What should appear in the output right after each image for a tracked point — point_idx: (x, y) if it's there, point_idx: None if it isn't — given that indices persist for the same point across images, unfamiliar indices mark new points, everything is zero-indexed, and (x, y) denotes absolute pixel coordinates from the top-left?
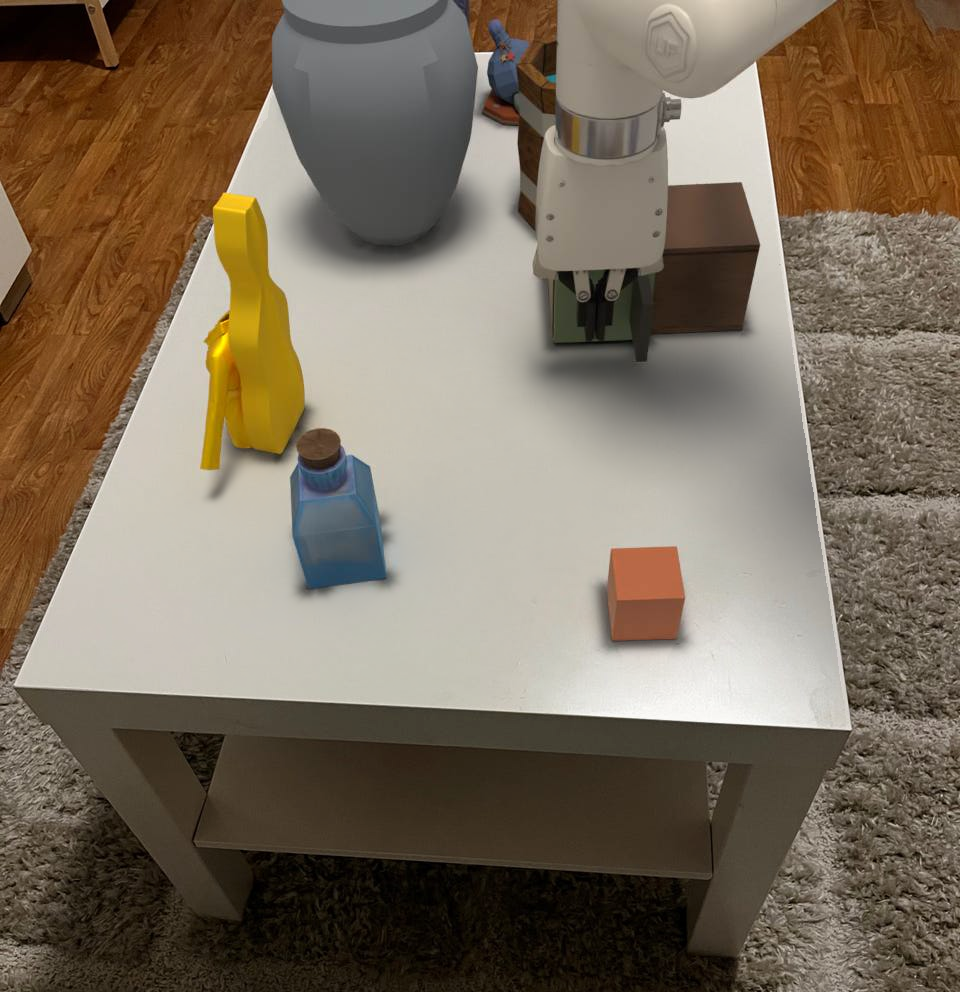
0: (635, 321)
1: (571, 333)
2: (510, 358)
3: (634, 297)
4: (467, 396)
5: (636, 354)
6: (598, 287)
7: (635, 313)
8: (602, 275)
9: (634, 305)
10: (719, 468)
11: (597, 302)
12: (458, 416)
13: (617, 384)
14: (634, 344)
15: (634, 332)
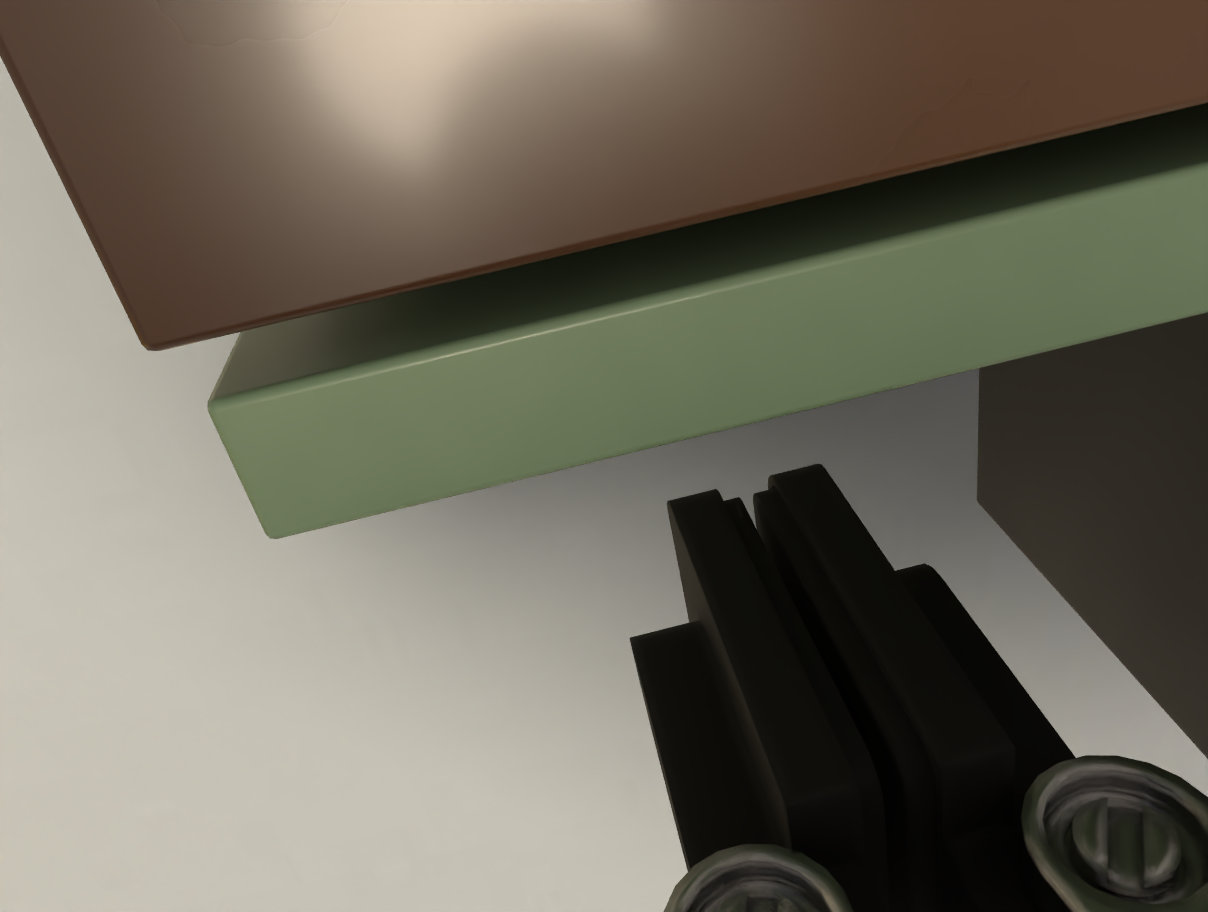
0: (1092, 438)
1: None
2: (111, 327)
3: (1188, 322)
4: (7, 667)
5: (1004, 528)
6: (933, 832)
7: (1127, 429)
8: (1042, 880)
9: (1144, 341)
10: (1176, 767)
11: (892, 907)
12: (37, 785)
13: (816, 427)
14: (1001, 417)
15: (1037, 403)
